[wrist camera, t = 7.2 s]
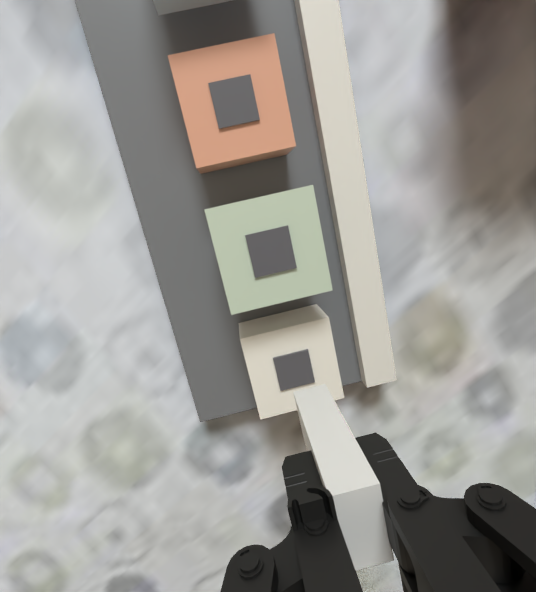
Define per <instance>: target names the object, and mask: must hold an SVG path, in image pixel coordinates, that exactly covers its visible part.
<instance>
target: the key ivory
mask: <svg viewBox="0 0 536 592" xmlns="http://www.w3.org/2000/svg"><path fill="white" fill-rule="evenodd" d="M239 335H240V342H241V346H242V349H243V353H244V357H245V361H246V365H247V369H248V373H249V377H250V381H251V385H252V389H253V393H254V397H255V401H256V404H257V408H258V412H259V416H260V420H261V419H264V418H268V417H272V416H276V415H280V414H284V413H288V412H292V411H296V410H297V407H296V402H295V398H294V393H293V392H295V391H299V390H303V389H307V388H311V387H315V386H319V385H323V384H326V386H327V388H328V390H329V391H330V393H331V395H332V397H333V399H334V401H335V400H339V399H342V398H344V393H343V388H342V383H341V377H340V372H339V367H338V362H337V357H336V351H335V346H334V341H333V336H332V331H331V325H330V320H329V317H328V316H327V315H326V314H325V312H324V311H323V310H322V309H321V308H320V307H319V306H318V305H317V304H315V305H311V306H307V307H302V308H298V309H294V310H290V311H286V312H282V313H278V314H274V315H270V316H266V317H261V318H257V319H253V320H249V321H245V322H241V323H239Z"/></svg>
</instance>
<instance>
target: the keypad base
mask: <svg viewBox="0 0 536 592" xmlns="http://www.w3.org/2000/svg"><path fill="white" fill-rule="evenodd" d="M75 3H76V6H77V10H78V13H79V16H80V20H81V23H82V26H83V30H84V33H85V37H86V40H87V43H88V47H89V50H90V53H91V57H92V60H93V63H94V67H95V70H96V73H97V77H98V80H99V84H100V87H101V90H102V94H103V97H104V100H105V104H106V107H107V110H108V114H109V117H110V120H111V124H112V127H113V131H114V134H115V137H116V141H117V144H118V147H119V151H120V154H121V157H122V161H123V164H124V167H125V171H126V174H127V178H128V181H129V184H130V188H131V191H132V194H133V198H134V201H135V204H136V208H137V211H138V214H139V218H140V221H141V225H142V228H143V231H144V235H145V238H146V241H147V245H148V248H149V251H150V255H151V258H152V261H153V265H154V268H155V272H156V275H157V278H158V282H159V285H160V288H161V292H162V295H163V298H164V302H165V305H166V308H167V312H168V315H169V319H170V322H171V325H172V329H173V332H174V335H175V339H176V342H177V345H178V349H179V352H180V355H181V359H182V362H183V366H184V369H185V372H186V376H187V379H188V382H189V386H190V389H191V392H192V396H193V399H194V402H195V406H196V409H197V413H198V416H199V419H200V422H203V421H207V420H211V419H215V418H219V417H223V416H226V415H230V414H234V413H238V412H242V411H246V410H250V409H254V408H257V404H256V401H255V397H254V393H253V389H252V385H251V381H250V377H249V373H248V369H247V365H246V361H245V357H244V353H243V349H242V346H241V342H240V335H239V323H241V322H245V321H249V320H253V319H257V318H261V317H266V316H270V315H274V314H278V313H282V312H286V311H290V310H294V309H298V308H302V307H307V306H311V305H315V304H317V305H318V306H319V307H320V308H321V309H322V310H323V311H324V312H325V314H326V315H327V316H328V317H329V320H330V325H331V331H332V336H333V341H334V346H335V351H336V357H337V362H338V367H339V372H340V377H341V383H342V386H344V385H348V384H352V383H356V382H360V381H362V382H363V383H364V385H365V386H366V387H367V388H368V387H372V386H376V385H380V384H384V383H388V382H392V381H395V380H397V379H396V372H395V365H394V359H393V352H392V346H391V339H390V333H389V326H388V320H387V313H386V307H385V300H384V294H383V287H382V281H381V274H380V267H379V261H378V254H377V248H376V241H375V235H374V228H373V222H372V215H371V209H370V202H369V196H368V189H367V183H366V176H365V170H364V163H363V156H362V150H361V143H360V137H359V130H358V124H357V117H356V111H355V104H354V98H353V91H352V85H351V78H350V72H349V65H348V58H347V52H346V45H345V39H344V32H343V26H342V19H341V13H340V6H339V0H232V1H228V2H223V3H218V4H213V5H208V6H203V7H198V8H193V9H188V10H183V11H178V12H173V13H168V14H163V15H158V13H157V10H156V7H155V4H154V2H153V0H75ZM272 33H275V39H276V44H277V49H278V54H279V59H280V65H281V70H282V75H283V80H284V85H285V91H286V96H287V101H288V106H289V112H290V117H291V122H292V127H293V132H294V138H295V143H296V147H295V148H294V149H292V150H291V151H290V152H289V153H288V154H287V155H283V156H279V157H274V158H270V159H265V160H261V161H256V162H252V163H247V164H243V165H238V166H234V167H230V168H225V169H221V170H216V171H212V172H207V173H203V174H200V172H199V171H198V170H197V168H196V165H195V161H194V157H193V153H192V149H191V145H190V141H189V137H188V133H187V129H186V126H185V122H184V118H183V114H182V110H181V106H180V102H179V98H178V94H177V90H176V86H175V82H174V78H173V74H172V71H171V67H170V63H169V59H168V55H171V54H176V53H181V52H186V51H191V50H195V49H200V48H205V47H210V46H215V45H220V44H224V43H229V42H234V41H239V40H244V39H248V38H253V37H258V36H263V35H268V34H272ZM310 185H313V187H314V192H315V198H316V203H317V208H318V214H319V219H320V225H321V230H322V235H323V241H324V246H325V251H326V257H327V262H328V268H329V273H330V278H331V284H332V289H333V290H332V291H328V292H324V293H320V294H316V295H312V296H307V297H303V298H299V299H295V300H291V301H287V302H283V303H279V304H274V305H270V306H266V307H262V308H258V309H254V310H250V311H246V312H241V313H237V314H233V315H231V312H230V308H229V304H228V300H227V296H226V292H225V289H224V285H223V281H222V277H221V273H220V269H219V265H218V261H217V257H216V253H215V250H214V246H213V242H212V238H211V234H210V230H209V226H208V222H207V218H206V214H205V211H204V209H209V208H213V207H218V206H222V205H226V204H231V203H235V202H239V201H244V200H248V199H253V198H257V197H261V196H266V195H270V194H274V193H279V192H283V191H288V190H292V189H296V188H301V187H305V186H310Z"/></svg>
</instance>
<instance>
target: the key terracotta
mask: <svg viewBox="0 0 536 592" xmlns="http://www.w3.org/2000/svg"><path fill="white" fill-rule="evenodd" d="M168 59H169V63H170V67H171V71H172V74H173V78H174V82H175V86H176V90H177V94H178V98H179V102H180V106H181V110H182V114H183V118H184V122H185V126H186V129H187V133H188V137H189V141H190V145H191V149H192V153H193V157H194V161H195V165H196V168H197V170H198V171H199V172H200V174H203V173H207V172H212V171H216V170H221V169H225V168H230V167H234V166H238V165H243V164H247V163H252V162H256V161H261V160H265V159H270V158H274V157H279V156H283V155H287V154H288V153H289V152H290V151H291V150H292V149H294V148H295V147H296V143H295V138H294V132H293V127H292V122H291V117H290V112H289V106H288V101H287V96H286V91H285V85H284V80H283V75H282V70H281V65H280V59H279V54H278V49H277V44H276V39H275V33H272V34H268V35H263V36H258V37H253V38H248V39H244V40H239V41H234V42H229V43H224V44H220V45H215V46H210V47H205V48H200V49H195V50H191V51H186V52H181V53H176V54H171V55H168Z"/></svg>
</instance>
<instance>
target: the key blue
mask: <svg viewBox="0 0 536 592" xmlns="http://www.w3.org/2000/svg"><path fill="white" fill-rule="evenodd" d="M228 1H232V0H153V2H154V4H155V7H156V10H157V13H158V15H163V14H168V13H173V12H178V11H183V10H188V9H193V8H198V7H203V6H208V5H213V4H218V3H223V2H228Z"/></svg>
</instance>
